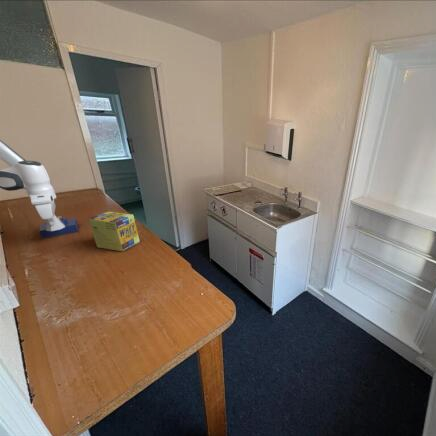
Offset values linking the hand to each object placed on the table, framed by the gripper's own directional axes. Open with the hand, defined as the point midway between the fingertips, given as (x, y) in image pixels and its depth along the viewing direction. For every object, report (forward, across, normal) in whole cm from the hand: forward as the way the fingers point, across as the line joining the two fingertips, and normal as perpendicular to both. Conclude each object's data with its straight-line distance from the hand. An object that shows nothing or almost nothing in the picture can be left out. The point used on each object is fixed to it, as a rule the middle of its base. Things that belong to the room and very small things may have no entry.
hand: (53, 222), depth 116 cm
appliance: (+10, -12, 0) cm, 15 cm away
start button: (+4, -14, 0) cm, 15 cm away
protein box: (+10, +23, +23) cm, 34 cm away
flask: (+4, 0, 0) cm, 4 cm away
